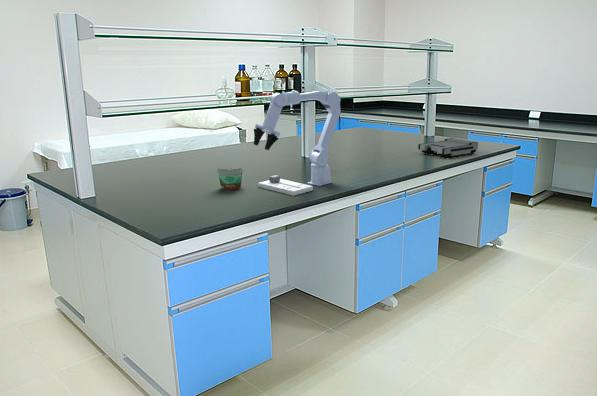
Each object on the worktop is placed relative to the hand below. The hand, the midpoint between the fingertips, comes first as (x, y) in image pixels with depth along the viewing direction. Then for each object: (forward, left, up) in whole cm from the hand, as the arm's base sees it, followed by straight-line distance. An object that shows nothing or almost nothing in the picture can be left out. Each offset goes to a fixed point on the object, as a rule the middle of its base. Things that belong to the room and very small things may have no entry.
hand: (261, 147), depth 223 cm
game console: (-141, +22, -20) cm, 145 cm away
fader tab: (-8, 0, -17) cm, 19 cm away
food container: (+10, -10, -20) cm, 24 cm away
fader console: (-8, +7, -20) cm, 22 cm away
